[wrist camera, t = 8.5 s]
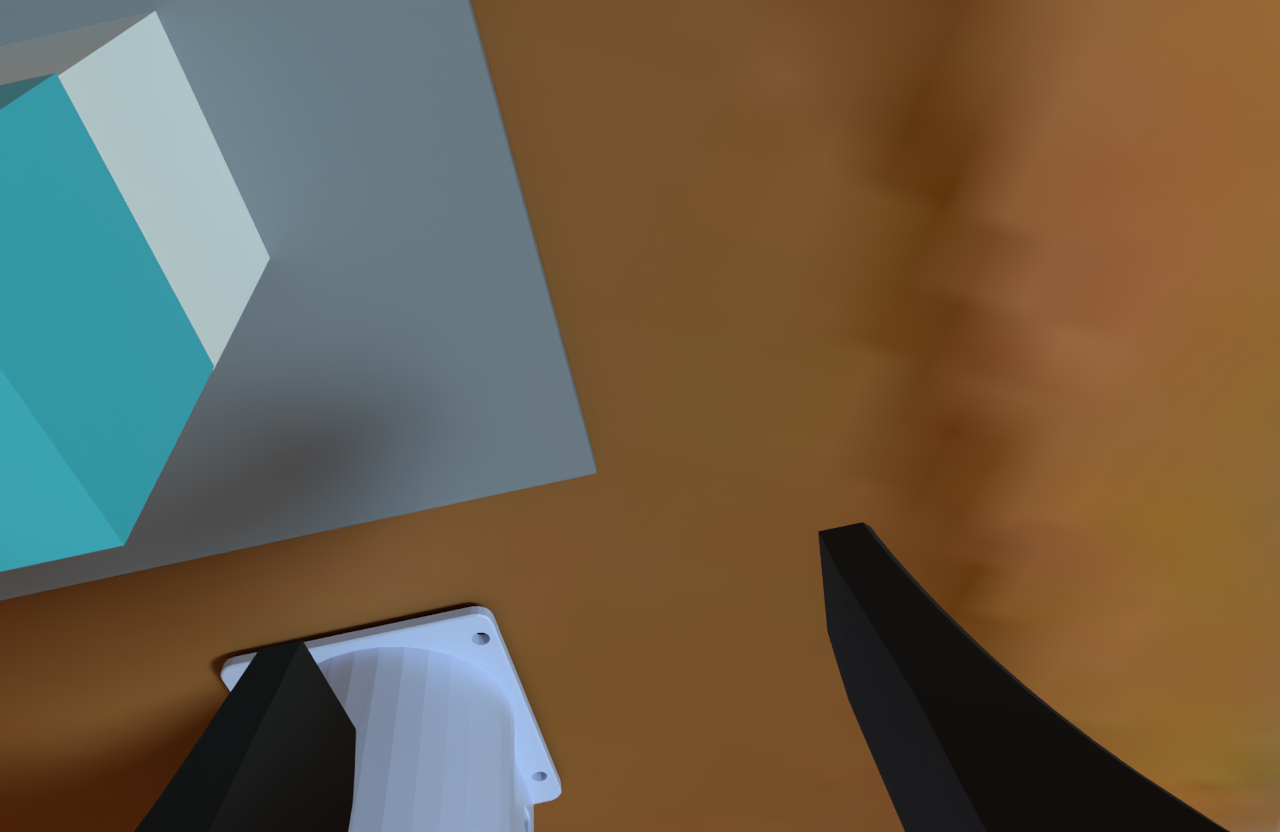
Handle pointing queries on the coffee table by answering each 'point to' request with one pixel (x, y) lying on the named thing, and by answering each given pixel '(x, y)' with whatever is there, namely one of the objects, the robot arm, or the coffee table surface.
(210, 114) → the grey baseplate
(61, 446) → the teal brick
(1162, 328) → the coffee table surface
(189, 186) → the cream brick
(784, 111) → the coffee table surface
